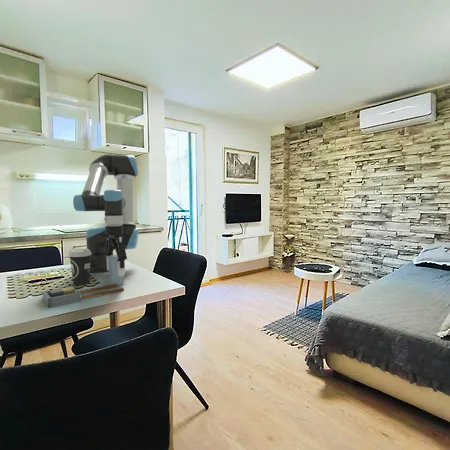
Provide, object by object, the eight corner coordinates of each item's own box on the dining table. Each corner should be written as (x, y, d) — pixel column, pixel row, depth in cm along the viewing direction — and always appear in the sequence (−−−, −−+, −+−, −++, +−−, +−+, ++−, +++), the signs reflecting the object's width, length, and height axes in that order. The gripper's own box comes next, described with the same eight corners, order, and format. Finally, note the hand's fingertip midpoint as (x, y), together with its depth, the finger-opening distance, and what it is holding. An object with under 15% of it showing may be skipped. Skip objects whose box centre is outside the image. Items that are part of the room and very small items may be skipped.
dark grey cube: (49, 300, 110) (49, 290, 110) (61, 298, 113) (61, 288, 113) (52, 303, 107) (51, 293, 107) (64, 301, 110) (63, 290, 110)
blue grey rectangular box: (109, 284, 132) (108, 255, 131) (120, 282, 135) (119, 254, 134) (112, 286, 129) (111, 257, 128) (123, 284, 132) (122, 255, 131)
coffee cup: (83, 286, 129) (82, 252, 127) (64, 285, 131) (63, 251, 129) (97, 280, 138) (96, 249, 137) (79, 279, 140) (78, 248, 139)
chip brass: (61, 298, 113) (61, 288, 113) (73, 296, 116) (72, 286, 115) (64, 301, 110) (63, 290, 110) (75, 299, 113) (75, 288, 112)
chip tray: (42, 299, 112) (42, 291, 112) (73, 293, 119) (72, 286, 119) (48, 307, 104) (48, 298, 103) (80, 300, 110) (80, 292, 110)
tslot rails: (76, 293, 118) (76, 290, 118) (116, 286, 129) (116, 283, 129) (82, 299, 112) (82, 296, 112) (123, 290, 123) (123, 287, 122)
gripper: (96, 223, 136) (97, 268, 138) (116, 227, 118) (117, 279, 119) (112, 223, 141) (113, 266, 143) (134, 226, 122) (135, 276, 124)
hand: (115, 272), depth 131 cm, fingers open, 13 cm apart
